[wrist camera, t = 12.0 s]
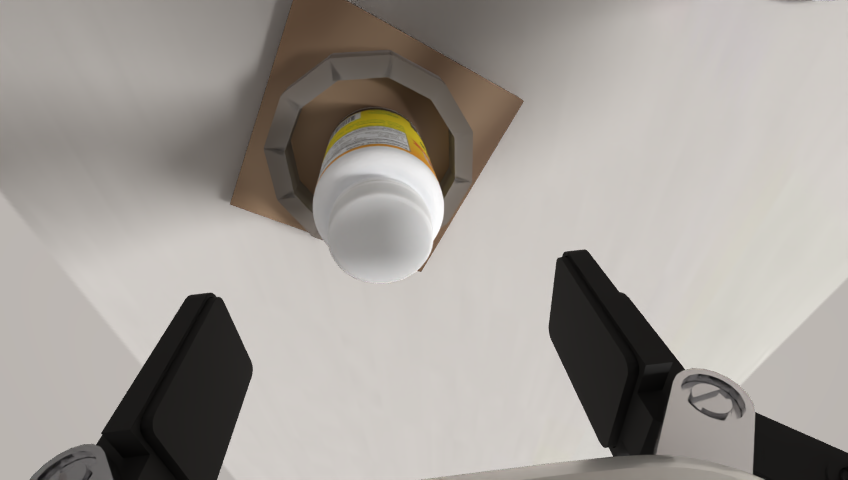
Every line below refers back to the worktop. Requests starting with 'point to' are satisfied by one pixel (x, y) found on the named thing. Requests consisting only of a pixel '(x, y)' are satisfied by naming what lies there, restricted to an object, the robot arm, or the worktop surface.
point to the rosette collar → (356, 89)
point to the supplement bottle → (377, 197)
